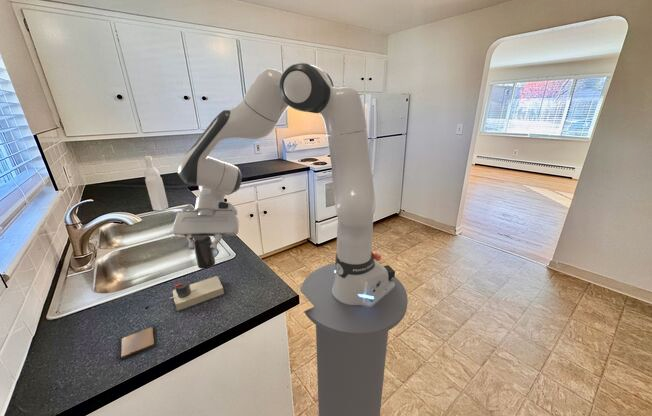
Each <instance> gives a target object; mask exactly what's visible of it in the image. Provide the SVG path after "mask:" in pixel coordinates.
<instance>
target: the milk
mask: <svg viewBox="0 0 652 416" xmlns="http://www.w3.org/2000/svg"><path fill="white" fill-rule="evenodd" d="M144 181H145V185H146V189H147V194H148V196H149V200H150V205H151V208H152V211H157V212H158V211H159V212H162V211H164V210H166V209H169V201H168V198H167V194H166V190H165V186H164V185H165V184H164V182H163V177H161V176H160V177H159V176H157V174H156V173H148V177H147V178H145V179H144Z"/></svg>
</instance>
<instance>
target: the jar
mask: <svg viewBox="0 0 652 416" xmlns="http://www.w3.org/2000/svg"><path fill="white" fill-rule="evenodd" d="M192 242H193V247H194V250H193V251H194V255H195V259H196V264H197V268H198V269H201V270H205V269H209V268H212V267H213V266H215V264H216V259H215V255H214V254H215V253H214V249H210V243H212V238H211V236H209V235H208V234H198V235H196V236H194V237H193V240H192Z"/></svg>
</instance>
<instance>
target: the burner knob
mask: <svg viewBox="0 0 652 416" xmlns="http://www.w3.org/2000/svg"><path fill="white" fill-rule="evenodd" d="M190 285H191V284H190V282H189V280H181V281H178V282H177V283H175V285H174V290H175V289H176V293H177V296H178V297H179V298H183V297H186V296H188V295H189V294H190V293H191V289H190Z"/></svg>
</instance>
